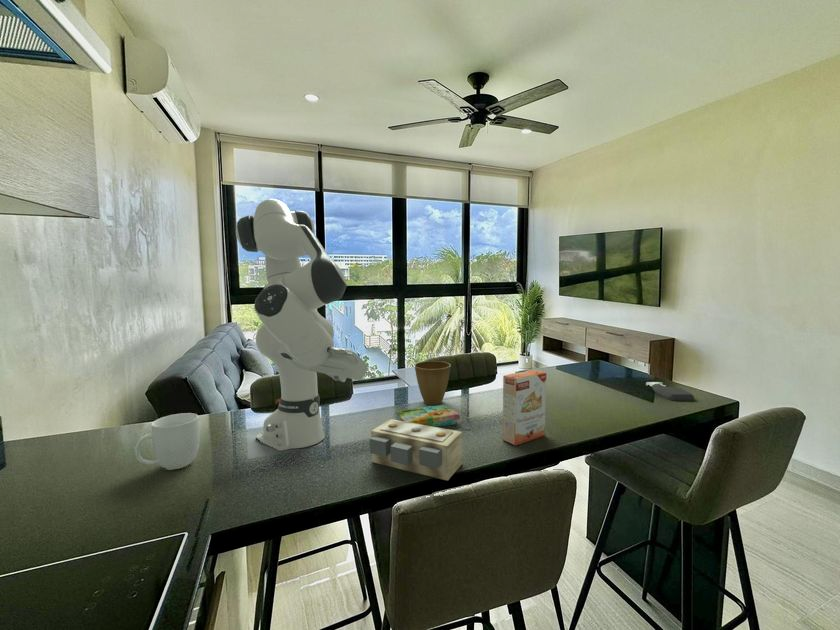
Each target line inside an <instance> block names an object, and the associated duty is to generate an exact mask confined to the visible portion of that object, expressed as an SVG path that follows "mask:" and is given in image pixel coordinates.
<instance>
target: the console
mask: <svg viewBox="0 0 840 630" xmlns="http://www.w3.org/2000/svg"><path fill="white" fill-rule="evenodd" d="M370 434H371V436H370V439H371V438H372V437H374V436H380V437H385V438H390V439H391V446H392V445H393V444H394V443H400V444H405V445H409V446H412V458H413V461H412V462H411V463H410V464H409V465H404V464H400V463H396V462H392V461H391V453H390V454H389V455H388V456H386V457H385V456H380V455H376V454H372V453H371V463H373V464H374V463H375V464H379V465H383V466H387V467H390V468H394V469H397V470H398V469H399V470H403V471H407V472H411V473H415V474H419V475H422V476H428V477H432V478H435V479H439V480H442V481H443V480H444V481H447V482H448V481H449V480H450V479H451V477H452V476H453V475H454V474H455V473H456V472H457V470H458V469H459V468H460V467H461V466H462V465H463V432H462V431H460V430H453V429H448V428H443V427H439V426H437V427H432V426H426V425H421V424H415V423H410V422H404V421H401V420H399V419H398V420H397V419H391V418H390V419H388V420H387V421H385V422H383V423H382V424H380V425H379V426H376V427H375V428H374V429H372V430H371V431H370ZM423 446H429V447H433V448H438V449H442V465H441V466H440V467H439V468H438V469H436V468H431V467H427V466H423V465H420V464H419V449H420V448H421V447H423Z"/></svg>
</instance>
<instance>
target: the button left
mask: <svg viewBox="0 0 840 630" xmlns="http://www.w3.org/2000/svg"><path fill="white" fill-rule="evenodd" d="M369 446H370V449H369V450H370V451H369V452H370V454H371V455H372V454H376V455H380V456H385V457H386V456H388V455H389V454H390V453H391V439H390V438H385V437H380V436H374V437H372V438H371V437H370V439H369Z"/></svg>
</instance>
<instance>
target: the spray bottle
mask: <svg viewBox="0 0 840 630" xmlns="http://www.w3.org/2000/svg"><path fill="white" fill-rule="evenodd" d="M645 385H646V386H648V385H649V387H652V390H653V391H654V393H656V394H657V395H659V397H660V396H661V397H663V398H664V399H667V400H669V401H674V402H675V401H679V402H680V401H681V402H688V401H689V402H692V401H694V400H695V396H694V394H692V393H691V392H690V391H688V390H685V389H682V388H678V387H671V386H667V385H665V384H663V382H661V381H660V382H659V381H651V382H650V381H647V382H646V383H645Z"/></svg>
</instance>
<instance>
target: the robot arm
mask: <svg viewBox="0 0 840 630" xmlns="http://www.w3.org/2000/svg"><path fill="white" fill-rule="evenodd" d="M235 236H236V239H237V242H238V243H239V245H240V246H241V248H242V249H243V250H244V251H246V252H251V253H258V252H261V253H262V254H263V255H264V256H265V259H264V260H265V261H264V263H265V264H264V265H265V273H266V274H265V275H266V280H267V284H265V285H264V286H263V288H262V290H261V291H260V292H259V293H258V295H257V297H256V298H255V301H254V311H255V314H256V315H257V317H258V319H259V320H260V322H261V324H262V325H261V326H260V327H259V328H258V330H257V332H256V335H255V344H256V347H257V350H258V351H259V352H260V354H261V355H263V356H264V357H266V358H267V359H269V360H270V361H271V362H272V363H273V365H275V367H276V370H277V371H278V376H279V381H280V382H279V383H280V392H281V393H280V395H281V396H280V398H277V399H275V401H276V402H275V404H277V403H278V404H277V405H278V406H277V409H276V410H274V411H273V412H272V413H271V414H269V415H268V416H267V417H266V418H265V419H264V422H263V427H262V429H263V430H262V431H260V432H259V433H258V434H257V435H256V436H255V439H256V438H257V439H259V440H261V441H262V442H264V443H266V444H267V445H266V444H265V445H266V446H268V445H269V447H270V446H271V448H272V447H273V448H272V449H274V448H275V450H276V449H277V450H276V451H287V450H291V449H301V448H307V447H311V446H313V445H316V444H318V443H320V442H322V440H324V439H325V437H326V436H325V433H324V432H325V431H324V426H323V425H322V424H323V423H322V418H321V413H320V412H321V411H320V406H321V404H320V394H319V393H318V374H319V373H320V374H325V375H326V376H329V377H330V378H332V379H333V380H334V381H337V382H342V383H346V381H347V379H352V380H357V381H362V380H363V378H364V377H365V376H366V373H367V372H368V369H369V368H368V367H369V366H368V365H367V363H366V362H365V361H364V360H363V359H362V357H360V356H359V355H358V354H357V353H356V352H355V351H353V350H351V349H349V348H342V347H337V346H336V347H335V340H334V336H335V331H334V326H333V324H332V323H331V322H330V321H329V320H328V319H326V318H325V317H324V316H322V315H321V313H319V311H317V309H319V308H321V307H323V306H325V305H328V304H331V303H334V302H336V301H338V300H342V298H343V295H344V293H345V291H346V289H347V285H348V284H347V279H346V277H345V275H344V272H343V271H342V269H341V268H340V267H339V265H338V264H337V263H336V262H335V261H334V260H332V259H331V257H330V256H329V254H328V252H327V251H326V250H325V248H324V247H323V245H322V244H321V242H320V240H319V238H318V237H317V236H316V235H315V224H314V222H313V220H312V219H311V216H310V215H309V213H308V212H306V211H303V210H295V211H291V210H290V208H289V206H287V205H286V204H285V203H284V202H283V201H281V200H278V199H276V198H275V199H274V198H268V199H265V200H263V201H261V202H260V203H258V205H257V206H256V208H255V211H254V214H253V215H250V214H248V215H246V216H243V217H240V219H239V220H238V221H237V222H236V228H235ZM303 256H308V257H309V258H310V260H309V262H307V263H306V264H304V265H303V266H302V265H301V261H300V257H303ZM262 442H261V443H262ZM264 443H263V444H264Z"/></svg>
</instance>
